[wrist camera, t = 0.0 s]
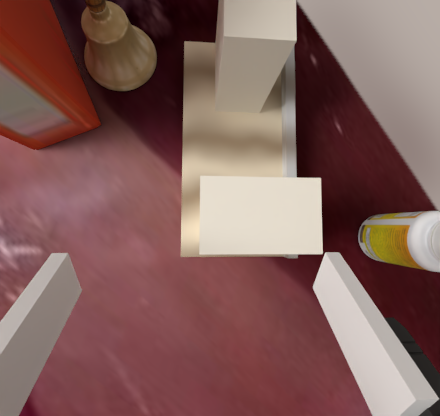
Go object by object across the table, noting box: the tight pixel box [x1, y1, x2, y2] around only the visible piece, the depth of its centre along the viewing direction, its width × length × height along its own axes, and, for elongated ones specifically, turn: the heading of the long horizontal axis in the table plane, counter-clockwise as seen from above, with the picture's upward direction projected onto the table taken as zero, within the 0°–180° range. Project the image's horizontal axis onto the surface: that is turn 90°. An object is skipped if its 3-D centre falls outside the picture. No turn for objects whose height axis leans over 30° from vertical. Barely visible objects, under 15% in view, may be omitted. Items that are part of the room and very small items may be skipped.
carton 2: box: [199, 176, 323, 255], centre depth 21 cm, size 8×5×11 cm, turn 90°
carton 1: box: [215, 0, 297, 113], centre depth 23 cm, size 8×5×11 cm, turn 0°
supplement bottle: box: [358, 211, 440, 272], centre depth 25 cm, size 6×6×10 cm
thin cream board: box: [181, 41, 298, 258], centre depth 28 cm, size 24×12×4 cm, turn 0°
